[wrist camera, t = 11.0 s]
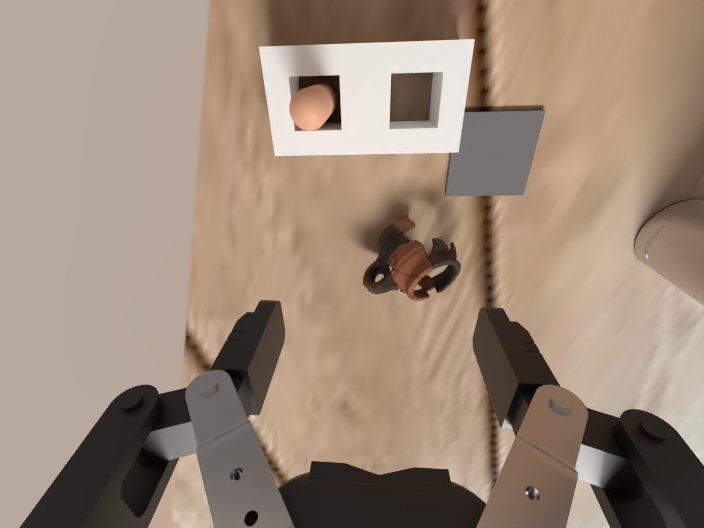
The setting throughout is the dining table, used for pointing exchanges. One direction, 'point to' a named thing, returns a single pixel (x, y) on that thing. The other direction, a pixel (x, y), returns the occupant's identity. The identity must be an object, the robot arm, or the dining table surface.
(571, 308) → the dining table surface
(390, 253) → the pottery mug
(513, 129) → the mat
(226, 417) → the robot arm
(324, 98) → the dowel
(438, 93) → the socket block
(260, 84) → the dining table surface
